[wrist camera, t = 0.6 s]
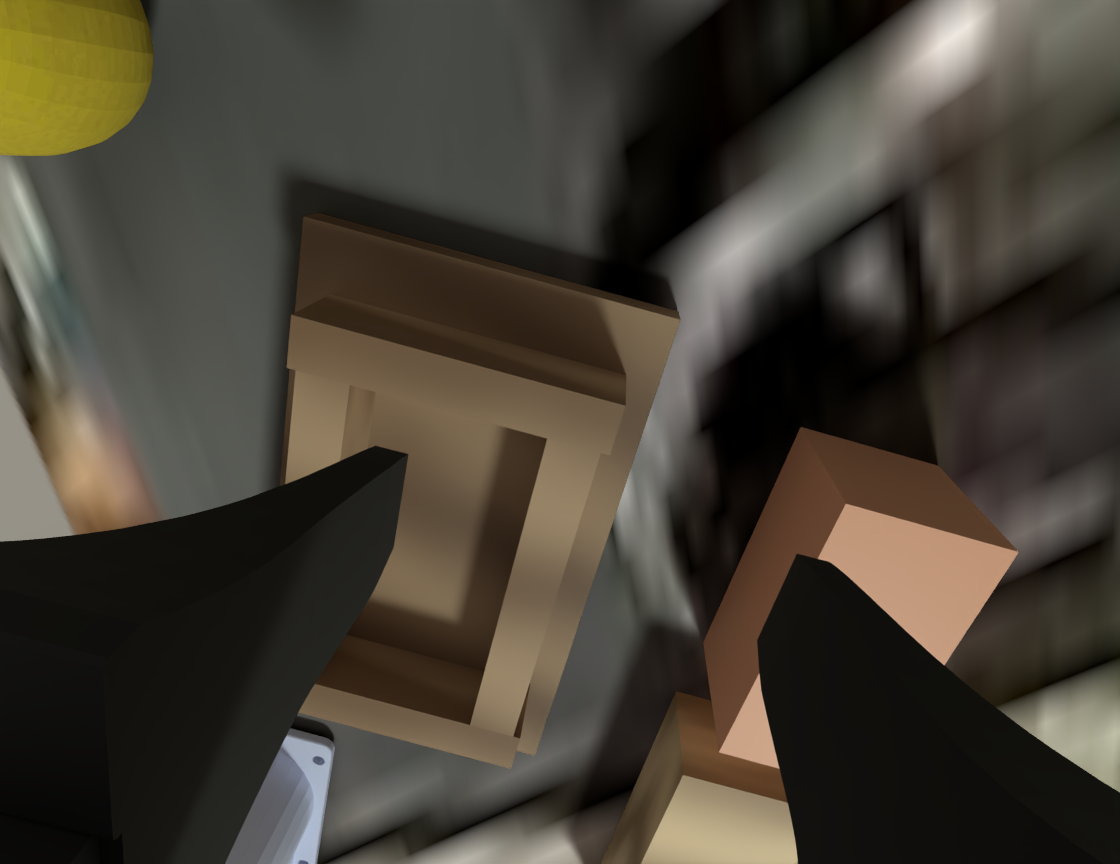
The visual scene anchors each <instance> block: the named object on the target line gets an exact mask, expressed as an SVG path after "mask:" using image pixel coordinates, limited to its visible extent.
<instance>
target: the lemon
mask: <svg viewBox="0 0 1120 864" xmlns="http://www.w3.org/2000/svg"><path fill="white" fill-rule="evenodd" d="M153 59H154V52H153V45H152V38H151V32H150V27H149V24H148V21H147V18H146V16H145V13H144V10H143V7H142V4H141V2H140V0H0V155H26V156H48V155H58V154H64V153H68V152H72V151H75V150H78V149H82V148H85V147H88V146H92V145H95V144H98V143H101V142H103V141H104V140H106V139H108V138H109V137H111V136H112V135H113V134H115V133H116V132H118V131H119V130H120V129H122V128H123V127H124V126H126V125H127V124H128V123H129V122H130V121H131V120H132V118H133V117H134V115H135V114H136V113H137V111H138V110H139V108H140V107H141V105H142V104H143V102H144V100H145V98H146V95H147V92H148V89H149V86H150V83H151V80H152V74H153Z"/></svg>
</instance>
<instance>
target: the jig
mask: <svg viewBox="0 0 1120 864" xmlns="http://www.w3.org/2000/svg"><path fill="white" fill-rule="evenodd" d="M679 323H680V316H679V312H678V311H675V310H671V309H667V308H664V307H660V306H657V305H653V304H649V303H646V302H642V301H638V300H635V299H631V298H627V297H624V296H620V295H616V294H613V293H609V292H606V291H602V290H598V289H595V288H591V287H587V286H584V285H580V284H576V283H573V282H569V281H565V280H562V279H558V278H554V277H551V276H547V275H544V274H540V273H536V272H533V271H529V270H525V269H522V268H518V267H514V266H511V265H507V264H503V263H500V262H496V261H493V260H489V259H485V258H482V257H478V256H474V255H471V254H467V253H463V252H460V251H456V250H452V249H449V248H445V247H441V246H438V245H434V244H431V243H427V242H423V241H420V240H416V239H412V238H409V237H405V236H401V235H398V234H394V233H390V232H387V231H383V230H380V229H376V228H372V227H369V226H365V225H361V224H358V223H354V222H350V221H347V220H343V219H339V218H336V217H332V216H328V215H325V214H321V213H315V214H311V215H307V216H303V225H302V236H301V247H300V259H299V270H298V281H297V293H296V304H295V313H294V314H292V315H291V322H290V334H289V346H288V357H287V368H289V369H290V372H289V384H288V395H287V406H286V418H285V429H284V440H283V452H282V463H281V474H280V486H282V485H284V484H287V483H290V482H292V481H295V480H298V479H300V478H302V477H305V476H307V475H309V474H312V473H314V472H316V471H318V470H321V469H323V468H325V467H328V466H330V465H332V464H334V463H337V462H339V461H341V460H343V459H345V458H348V457H350V456H352V455H354V454H357V453H359V452H361V451H363V450H366V449H368V448H371V447H374V446H379V447H383V448H387V449H391V450H395V451H398V452H402V453H406V454H408V461H407V467H406V473H405V480H404V486H403V492H402V499H401V505H400V511H399V517H398V524H397V530H396V536H395V543H394V548H393V550H392V552H391V555H390V557H389V559H388V561H387V564H386V566H385V568H384V570H383V573H382V575H381V577H380V579H379V581H378V583H377V585H376V587H375V589H374V592H373V593H372V595H371V597H370V598H369V600H368V601H367V603H366V605H365V606H364V608H363V609H362V611H361V613H360V614H359V616H358V617H357V619H356V620H355V622H354V624H353V625H352V627H351V628H350V630H349V631H348V633H347V635H346V636H345V638H344V639H343V641H342V642H341V644H340V646H339V647H338V649H337V650H336V652H335V653H334V655H333V656H332V658H331V660H330V661H329V663H328V664H327V666H326V667H325V669H324V671H323V672H322V674H321V675H320V677H319V678H318V680H317V681H316V683H315V685H314V686H313V688H312V689H311V691H310V693H309V694H308V696H307V698H306V700H305V701H304V703H303V705H302V707H301V708H300V710H299V713H303V714H306V715H310V716H314V717H318V718H321V719H325V720H329V721H333V722H337V723H340V724H344V725H348V726H352V727H355V728H359V729H363V730H367V731H371V732H374V733H378V734H382V735H386V736H389V737H393V738H397V739H401V740H404V741H408V742H412V743H416V744H420V745H423V746H427V747H431V748H435V749H438V750H442V751H446V752H450V753H454V754H457V755H461V756H465V757H469V758H472V759H476V760H480V761H484V762H487V763H491V764H495V765H499V766H503V767H506V768H510V769H511V766H512V763H513V760H514V757H515V754H516V751H520V752H524V753H528V754H531V755H535V753H536V750H537V747H538V745H539V742H540V739H541V736H542V733H543V730H544V727H545V724H546V721H547V718H548V715H549V712H550V709H551V706H552V703H553V700H554V697H555V694H556V691H557V688H558V685H559V682H560V679H561V676H562V673H563V670H564V667H565V664H566V661H567V658H568V655H569V652H570V649H571V646H572V643H573V640H574V637H575V634H576V631H577V628H578V625H579V622H580V619H581V616H582V613H583V610H584V607H585V604H586V601H587V598H588V595H589V592H590V589H591V586H592V583H593V580H594V577H595V574H596V571H597V568H598V565H599V562H600V559H601V556H602V553H603V550H604V547H605V544H606V541H607V538H608V535H609V532H610V529H611V526H612V523H613V520H614V517H615V514H616V511H617V508H618V505H619V502H620V499H621V496H622V493H623V490H624V487H625V484H626V481H627V478H628V475H629V472H630V469H631V466H632V463H633V460H634V457H635V454H636V451H637V448H638V445H639V442H640V439H641V436H642V433H643V430H644V427H645V424H646V421H647V418H648V415H649V412H650V409H651V406H652V403H653V400H654V397H655V394H656V391H657V388H658V386H659V383H660V380H661V377H662V374H663V371H664V368H665V365H666V362H667V359H668V356H669V353H670V350H671V347H672V344H673V341H674V338H675V335H676V332H677V329H678V326H679Z"/></svg>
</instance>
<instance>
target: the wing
mask: <svg viewBox="0 0 1120 864" xmlns="http://www.w3.org/2000/svg"><path fill="white" fill-rule="evenodd" d="M797 861H798V858H797V850H796V843H795V836H794V831H793V826H792V821H791V816H790V811H789V806H788V802H787V798H786V794H785V790H784V786H783V781H782V777H781V773H780V769H778V768H775V767H771V766H767V765H764V764H760V763H756V762H753V761H749V760H745V759H742V758H738V757H734V756H731V755H727V754H723V753H720V752H719V750H718V743H717V736H716V729H715V722H714V715H713V708H712V701H711V700H708V699H704V698H700V697H696V696H693V695H689V694H685V693H681V692H678V691H676V693H675V695H674V697H673V699H672V702H671V704H670V706H669V709H668V711H667V713H666V715H665V718H664V720H663V722H662V725H661V727H660V729H659V732H658V734H657V736H656V738H655V741H654V743H653V745H652V748H651V750H650V752H649V754H648V757H647V759H646V761H645V764H644V766H643V768H642V770H641V773H640V775H639V777H638V780H637V782H636V784H635V786H634V789H633V791H632V793H631V796H630V798H629V800H628V803H627V805H626V807H625V809H624V812H623V814H622V816H621V819H620V821H619V823H618V825H617V828H616V830H615V832H614V835H613V837H612V839H611V841H610V844H609V846H608V848H607V851H606V853H605V855H604V858H603V860H602V862H601V864H796V863H797Z"/></svg>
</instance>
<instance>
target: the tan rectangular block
mask: <svg viewBox="0 0 1120 864" xmlns="http://www.w3.org/2000/svg"><path fill="white" fill-rule="evenodd" d="M1018 553H1019V552H1018V551H1017V550H1016V549H1015V548H1014V546H1013V545H1012V544H1011V543H1010V542H1009V541H1008V540H1007V539H1006V538H1005V537H1004V536H1003V535H1002V534H1001V533H1000V531H999V530H998V529H997V528H996V527H995V526H994V525H993V524H992V523H991V522H990V521H989V520H988V519H987V518H986V516H985V515H984V514H983V513H982V512H981V511H980V510H979V509H978V508H977V507H976V506H975V505H974V504H973V503H972V501H971V500H970V499H969V498H968V497H967V496H966V495H965V494H964V493H963V492H962V491H961V490H960V489H959V488H958V487H957V485H956V484H955V483H954V482H953V481H952V480H951V479H950V478H949V477H948V476H947V475H946V474H945V473H944V472H943V470H942V469H941V468H940V467H939V466H937V465H934V464H930V463H927V462H923V461H920V460H916V459H913V458H909V457H906V456H902V455H899V454H895V453H891V452H888V451H884V450H881V449H877V448H874V447H870V446H867V445H863V444H860V443H856V442H853V441H849V440H845V439H842V438H838V437H835V436H831V435H828V434H824V433H821V432H817V431H814V430H810V429H807V428H803V427H800V430H799V432H798V434H797V436H796V439H795V441H794V443H793V445H792V447H791V450H790V452H789V454H788V456H787V458H786V461H785V463H784V465H783V467H782V469H781V472H780V474H779V476H778V478H777V480H776V483H775V485H774V487H773V489H772V492H771V494H770V496H769V498H768V500H767V503H766V505H765V507H764V509H763V511H762V514H761V516H760V518H759V520H758V522H757V525H756V527H755V529H754V531H753V533H752V536H751V538H750V540H749V542H748V545H747V547H746V549H745V551H744V553H743V556H742V558H741V560H740V562H739V564H738V567H737V569H736V571H735V573H734V575H733V578H732V580H731V582H730V584H729V587H728V589H727V591H726V593H725V595H724V598H723V600H722V602H721V604H720V606H719V609H718V611H717V613H716V615H715V617H714V620H713V622H712V624H711V626H710V628H709V631H708V633H707V635H706V637H705V640H704V642H703V646H704V653H705V660H706V667H707V673H708V680H709V687H710V694H711V701H712V708H713V715H714V722H715V729H716V736H717V743H718V750H719V752H720V753H723V754H727V755H731V756H734V757H738V758H742V759H745V760H749V761H753V762H756V763H760V764H764V765H767V766H771V767H775V768H778V769H779V765H778V761H777V757H776V752H775V748H774V744H773V740H772V736H771V732H770V727H769V723H768V719H767V714H766V710H765V706H764V701H763V696H762V692H761V683H760V674H759V662H758V647H757V639H758V637H759V635H760V633H761V630H762V628H763V626H764V624H765V622H766V620H767V617H768V615H769V613H770V611H771V609H772V606H773V604H774V602H775V600H776V598H777V596H778V593H779V591H780V589H781V587H782V585H783V583H784V580H785V578H786V576H787V574H788V572H789V569H790V567H791V565H792V563H793V561H794V559H795V556H796V554H801V555H805V556H808V557H812V558H816V559H820V560H824V561H828V562H830V563H832V564H833V565H835V566H836V567H837V568H838V569H840V570H841V571H842V572H843V573H844V574H846V575H847V576H848V577H849V578H850V579H851V580H852V581H853V582H855V583H856V584H857V585H858V586H859V587H860V588H861V589H862V590H863V591H864V592H865V593H866V594H867V595H869V596H870V597H871V598H872V599H873V600H874V601H875V602H876V603H877V604H878V605H879V606H880V607H881V608H882V609H883V610H884V611H885V612H886V613H887V614H889V615H890V616H891V617H892V618H893V619H894V620H895V621H896V622H897V623H898V624H899V625H900V626H901V627H902V628H903V629H904V630H905V631H907V632H908V633H909V634H910V635H911V636H912V637H913V638H914V639H915V640H916V641H917V642H918V643H920V644H921V645H922V646H923V647H924V648H925V649H926V650H927V651H928V652H930V653H931V654H932V655H933V656H934V657H935V658H936V659H937V660H939V661H940V662H941V663H942V664H943V665H945V663H946V662H947V660H948V659H949V657H950V656H951V654H952V653H953V651H954V650H955V648H956V647H957V645H958V644H959V642H960V641H961V639H962V637H963V636H964V634H965V633H966V631H967V630H968V628H969V627H970V625H971V624H972V622H973V621H974V619H975V618H976V616H977V615H978V613H979V612H980V610H981V609H982V607H983V606H984V604H985V603H986V601H987V600H988V598H989V597H990V595H991V593H992V592H993V590H994V589H995V587H996V586H997V584H998V583H999V581H1000V580H1001V578H1002V577H1003V575H1004V574H1005V572H1006V571H1007V569H1008V568H1009V566H1010V565H1011V563H1012V562H1013V560H1014V559H1015V557H1016V556H1017V554H1018Z"/></svg>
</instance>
